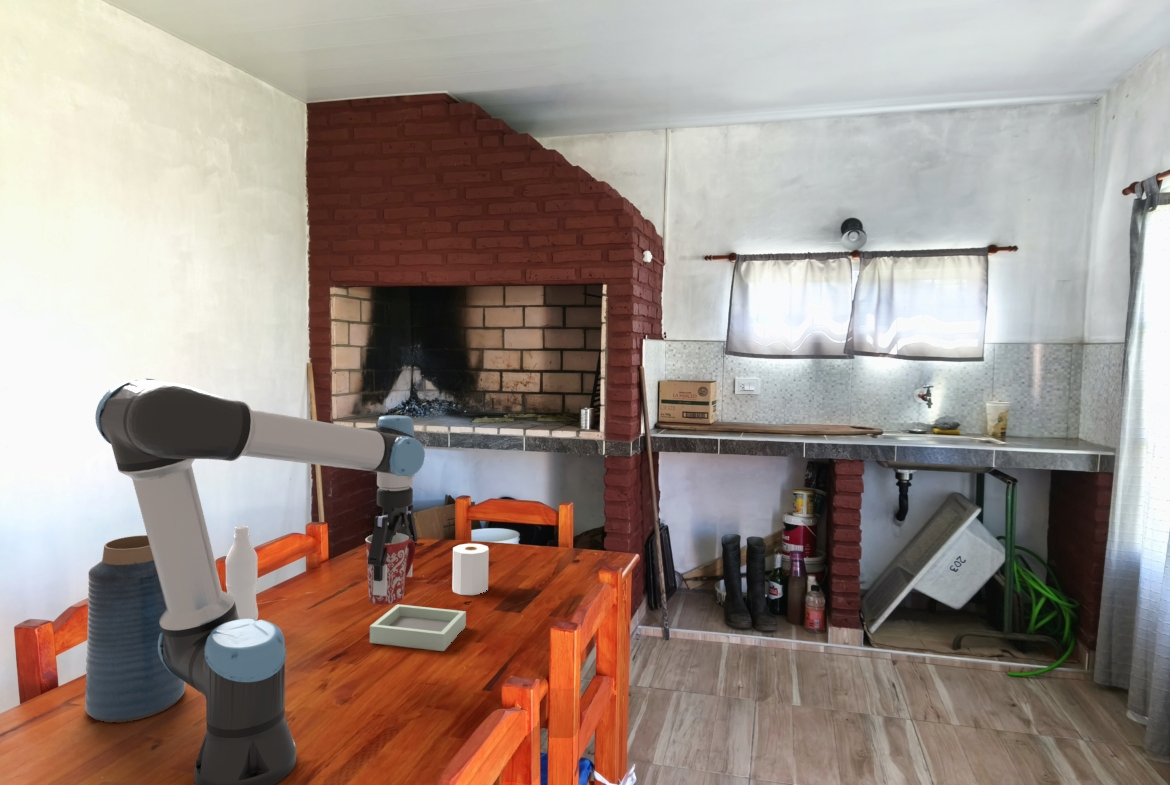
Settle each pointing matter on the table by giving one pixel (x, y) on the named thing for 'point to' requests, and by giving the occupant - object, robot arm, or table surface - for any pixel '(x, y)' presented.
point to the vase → (126, 636)
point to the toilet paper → (470, 569)
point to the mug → (393, 568)
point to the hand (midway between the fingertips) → (393, 585)
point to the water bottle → (242, 574)
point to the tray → (418, 627)
